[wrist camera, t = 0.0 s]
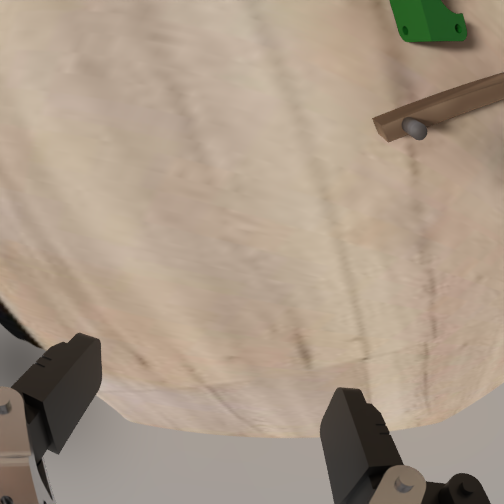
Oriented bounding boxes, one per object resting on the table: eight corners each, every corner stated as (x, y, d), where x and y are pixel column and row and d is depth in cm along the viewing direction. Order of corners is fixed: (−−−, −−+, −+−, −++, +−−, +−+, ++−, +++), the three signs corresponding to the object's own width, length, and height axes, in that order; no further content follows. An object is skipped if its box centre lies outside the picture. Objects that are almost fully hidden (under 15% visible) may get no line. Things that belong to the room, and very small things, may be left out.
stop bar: (372, 118, 33) (390, 132, 27) (515, 68, 24) (548, 77, 19) (378, 133, 34) (397, 150, 28) (519, 82, 25) (551, 93, 20)
